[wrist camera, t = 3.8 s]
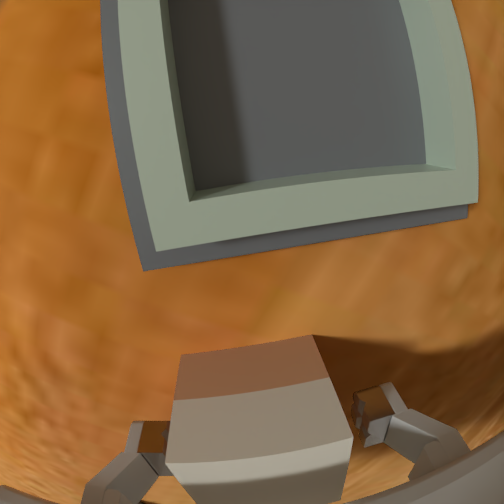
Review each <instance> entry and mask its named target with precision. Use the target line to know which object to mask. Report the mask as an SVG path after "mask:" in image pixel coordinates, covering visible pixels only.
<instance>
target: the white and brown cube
mask: <svg viewBox="0 0 504 504" xmlns="http://www.w3.org/2000/svg"><path fill="white" fill-rule="evenodd" d="M353 438H354V437H353V434H352V432H351V429H350V427H349V424H348V422H347V419H346V417H345V414H344V412H343V409H342V407H341V404H340V402H339V399H338V397H337V394H336V392H335V389H334V387H333V384H332V382H331V380H330V377H329V375H328V372H327V370H326V367H325V365H324V362H323V360H322V358H321V355H320V353H319V350H318V348H317V346H316V343H315V341H314V338H313V336H312V335H307V336H302V337H296V338H291V339H286V340H280V341H275V342H269V343H263V344H257V345H251V346H245V347H238V348H231V349H224V350H217V351H209V352H202V353H193V354H184V355H181V358H180V364H179V370H178V376H177V382H176V388H175V395H174V401H173V408H172V414H171V421H170V428H169V436H168V443H167V451H166V459H165V464H166V465H167V467H168V468H169V469H170V471H171V472H172V473H173V475H174V476H175V477H176V479H177V480H178V481H179V482H180V484H181V485H182V486H183V488H184V489H185V490H186V491H187V492H188V494H189V495H190V496H191V497H192V498H193V500H194V501H195V502H196V503H197V504H328V503H332V502H336V501H339V500H340V499H341V495H342V491H343V487H344V483H345V478H346V474H347V469H348V464H349V459H350V454H351V449H352V443H353Z"/></svg>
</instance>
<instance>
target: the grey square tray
mask: <svg viewBox="0 0 504 504" xmlns="http://www.w3.org/2000/svg"><path fill="white" fill-rule="evenodd" d="M100 4H101V34H102V50H103V62H104V73H105V83H106V92H107V100H108V108H109V115H110V122H111V128H112V135H113V141H114V147H115V152H116V158H117V163H118V168H119V173H120V178H121V183H122V188H123V193H124V197H125V202H126V206H127V210H128V215H129V219H130V223H131V227H132V231H133V235H134V239H135V243H136V246H137V250H138V254H139V257H140V261H141V264H142V268H143V271H148V270H154V269H160V268H166V267H173V266H179V265H185V264H191V263H197V262H203V261H209V260H215V259H222V258H228V257H234V256H240V255H246V254H252V253H258V252H264V251H270V250H276V249H283V248H289V247H295V246H301V245H307V244H313V243H319V242H325V241H331V240H337V239H343V238H349V237H355V236H361V235H367V234H374V233H380V232H386V231H392V230H398V229H404V228H410V227H416V226H422V225H428V224H434V223H440V222H446V221H452V220H458V219H464V218H467V214H468V204H470V203H478V143H477V128H476V117H475V108H474V100H473V93H472V86H471V80H470V74H469V68H468V63H467V58H466V54H465V49H464V45H463V41H462V37H461V33H460V29H459V25H458V22H457V18H456V15H455V12H454V8H453V5H452V2H451V0H100Z"/></svg>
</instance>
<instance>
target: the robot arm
mask: <svg viewBox="0 0 504 504" xmlns="http://www.w3.org/2000/svg"><path fill="white" fill-rule="evenodd" d="M353 401H354V404H353V405H352V408H351V413H352V419H353V422H354V425H355V427H356V428H358V429H360V431H359V437H360V440H361V442H362V445H363V447H364V448H365V447H368V446H371V445H375V444H378V443H381V442H384V443H385V444H386V445H388V446H389V447H391V448H392V449H394V450H395V451H397V452H398V453H400V454H401V455H403V456H404V457H406V458H407V459H409V460H410V461H412V462H413V463H415V465H414V467H413V469H412V470H411V472H410V474H409V476H408V478H409V480H410V481H409V482H406V483H404V484H401V485H399V486H396V487H393V488H391V489H388V490H385V491H382V492H379V493H377V494H374V495H371V496H367V497H364V498H361V499H358V500H354V501H351V502H347V503H344V504H504V430H503V431H502V432H500V433H499V434H497V435H496V436H494V437H493V438H491V439H490V440H488V441H487V442H485V443H483V444H482V445H480V446H478V447H477V448H475V449H473V450H472V451H470V449H469V448H468V446H467V444H466V443H465V441H464V440H463V438H462V437H461V435H460V434H459V432H458V430H457V429H455V428H453V427H451V426H448V425H446V424H444V423H442V422H439V421H437V420H435V419H433V418H431V417H429V416H426V415H424V414H422V413H420V412H418V411H416V410H414V409H412V408H411V409H407V407H406V405H405V404H404V402H403V400H402V399H401V397H400V395H399V394H398V392H397V390H396V389H395V387H394V385H393V384H392V383H391V382H387V383H384V384H381V385H378V386H374V387H370V388H367V389H364V390H360V391H357V392H354V394H353ZM169 428H170V421H133V422H132V424H131V427H130V431H129V435H128V439H127V443H126V447H125V451H124V452H121V453H120V454H119V455H118V456H116V457H115V458H114V459H113V460H112V461H111V462H110V463H109V464H108V465H107V466H106V467H105V468H103V469H102V470H101V471H100V472H99V473H98V474H97V475H96V476H95V477H94V478H92V479H91V480H90V481H89V482H88V483H87V484H86V486H85V489H84V493H83V497H82V501H81V504H138V503H139V502H140V500H141V499H142V498H143V497H144V495H145V494H146V493H147V491H148V490H149V489H150V488H151V486H152V485H153V484H154V482H155V481H156V480H157V478H158V477H159V476H174V475H173V473H172V472H171V471H170V469H169V468H168V467H167V465H166V464H165V459H166V451H167V443H168V436H169ZM0 504H58V503H55V502H52V501H48V500H45V499H42V498H39V497H36V496H33V495H30V494H27V493H24V492H22V491H19V490H17V489H14V488H12V487H9V486H6V485H0Z"/></svg>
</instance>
